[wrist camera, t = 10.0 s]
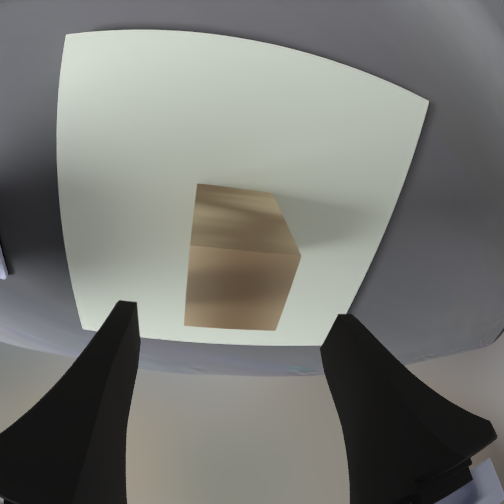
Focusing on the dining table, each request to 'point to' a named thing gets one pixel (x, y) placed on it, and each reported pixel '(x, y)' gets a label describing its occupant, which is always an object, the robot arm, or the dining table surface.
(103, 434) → the robot arm
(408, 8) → the dining table surface
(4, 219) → the dining table surface
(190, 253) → the pine block
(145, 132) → the board
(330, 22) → the dining table surface
